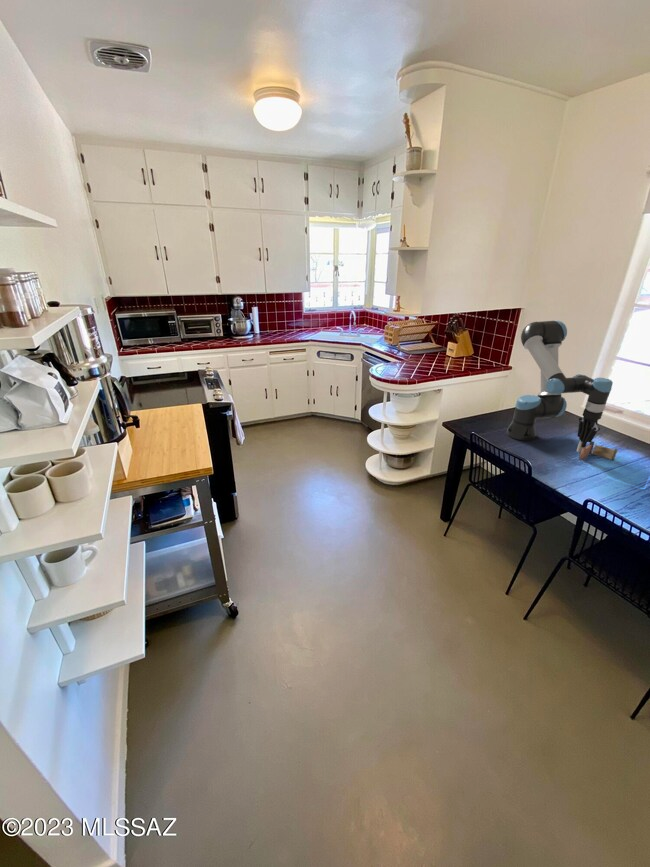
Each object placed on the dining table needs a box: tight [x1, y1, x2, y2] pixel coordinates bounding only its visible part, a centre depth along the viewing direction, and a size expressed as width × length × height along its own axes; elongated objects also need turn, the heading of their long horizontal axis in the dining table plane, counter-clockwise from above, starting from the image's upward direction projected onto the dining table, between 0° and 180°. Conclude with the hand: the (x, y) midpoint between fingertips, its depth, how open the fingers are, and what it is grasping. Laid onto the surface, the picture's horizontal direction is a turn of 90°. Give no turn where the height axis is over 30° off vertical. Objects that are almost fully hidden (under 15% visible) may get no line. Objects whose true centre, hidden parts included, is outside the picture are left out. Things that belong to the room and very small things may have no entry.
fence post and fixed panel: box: [589, 440, 618, 461], centre depth 185 cm, size 12×2×6 cm, turn 43°
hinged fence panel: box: [578, 443, 592, 461], centre depth 185 cm, size 9×1×6 cm, turn 126°
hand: (579, 451), depth 186 cm, fingers closed
